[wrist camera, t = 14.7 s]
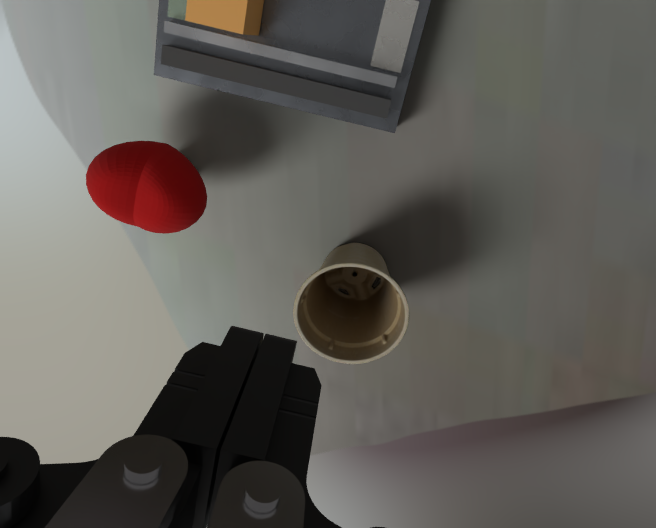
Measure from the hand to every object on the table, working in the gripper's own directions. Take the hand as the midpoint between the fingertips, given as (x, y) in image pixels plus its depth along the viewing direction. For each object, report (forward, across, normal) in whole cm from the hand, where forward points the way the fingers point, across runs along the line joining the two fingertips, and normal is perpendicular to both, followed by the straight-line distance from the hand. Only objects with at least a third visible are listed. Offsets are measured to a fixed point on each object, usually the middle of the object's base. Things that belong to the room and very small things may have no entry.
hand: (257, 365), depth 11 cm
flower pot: (+35, -4, +13) cm, 38 cm away
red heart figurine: (+35, +14, +7) cm, 39 cm away
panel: (+35, +6, -8) cm, 36 cm away
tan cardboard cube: (+32, +10, -8) cm, 35 cm away
